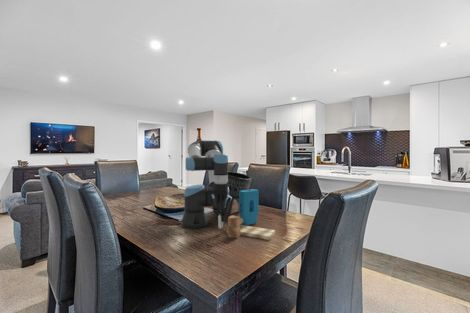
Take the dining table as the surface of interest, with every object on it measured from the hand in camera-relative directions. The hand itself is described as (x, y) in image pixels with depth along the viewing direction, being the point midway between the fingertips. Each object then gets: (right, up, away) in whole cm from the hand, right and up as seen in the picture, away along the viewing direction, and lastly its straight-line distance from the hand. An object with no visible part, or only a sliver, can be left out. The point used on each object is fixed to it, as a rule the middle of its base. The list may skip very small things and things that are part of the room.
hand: (220, 227), depth 119 cm
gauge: (+9, -3, 0) cm, 9 cm away
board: (+16, -3, +1) cm, 16 cm away
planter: (+4, -1, +41) cm, 42 cm away
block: (+16, -3, +18) cm, 24 cm away
